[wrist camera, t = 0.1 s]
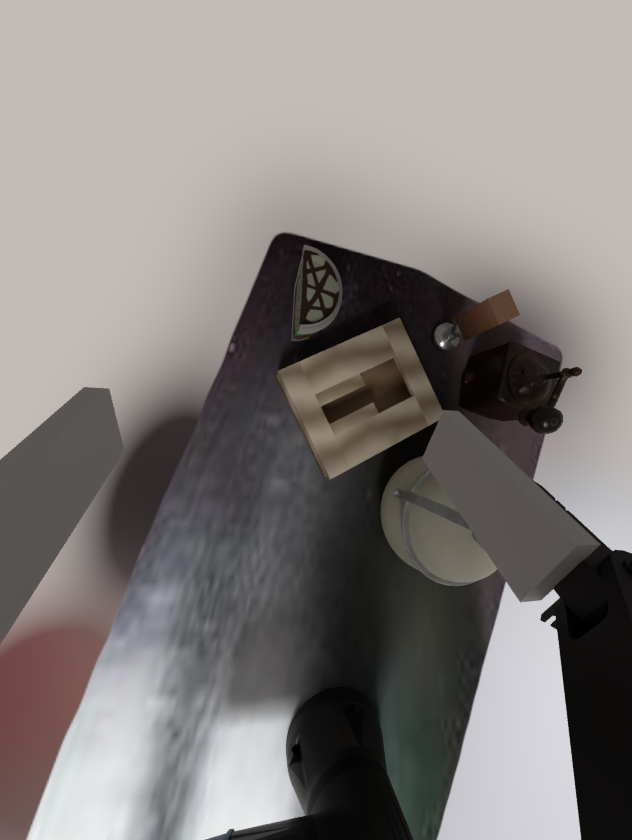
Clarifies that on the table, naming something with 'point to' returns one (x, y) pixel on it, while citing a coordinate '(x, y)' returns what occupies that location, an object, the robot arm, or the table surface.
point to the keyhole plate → (360, 397)
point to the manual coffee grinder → (515, 386)
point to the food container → (315, 294)
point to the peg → (475, 321)
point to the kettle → (430, 528)
